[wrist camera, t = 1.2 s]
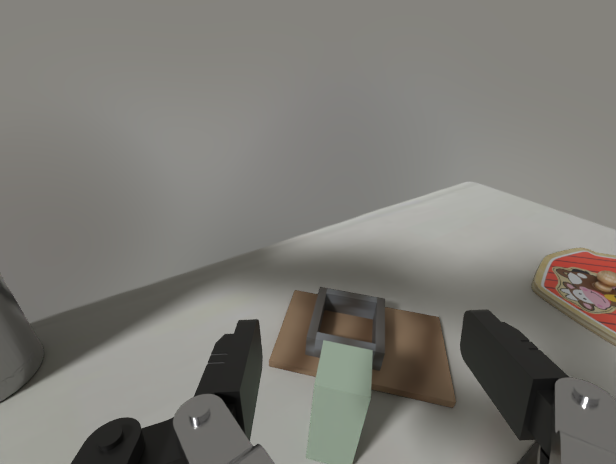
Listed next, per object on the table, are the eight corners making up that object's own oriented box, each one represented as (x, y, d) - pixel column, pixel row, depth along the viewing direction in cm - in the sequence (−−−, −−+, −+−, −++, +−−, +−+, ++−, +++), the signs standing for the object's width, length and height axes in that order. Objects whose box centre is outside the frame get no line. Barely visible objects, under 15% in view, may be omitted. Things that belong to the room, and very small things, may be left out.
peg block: (305, 458, 28) (314, 384, 22) (314, 413, 31) (323, 340, 26) (350, 469, 28) (370, 397, 22) (354, 423, 31) (372, 350, 25)
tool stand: (269, 366, 36) (268, 342, 34) (294, 295, 46) (295, 273, 44) (452, 407, 33) (465, 384, 31) (436, 322, 43) (445, 300, 41)
